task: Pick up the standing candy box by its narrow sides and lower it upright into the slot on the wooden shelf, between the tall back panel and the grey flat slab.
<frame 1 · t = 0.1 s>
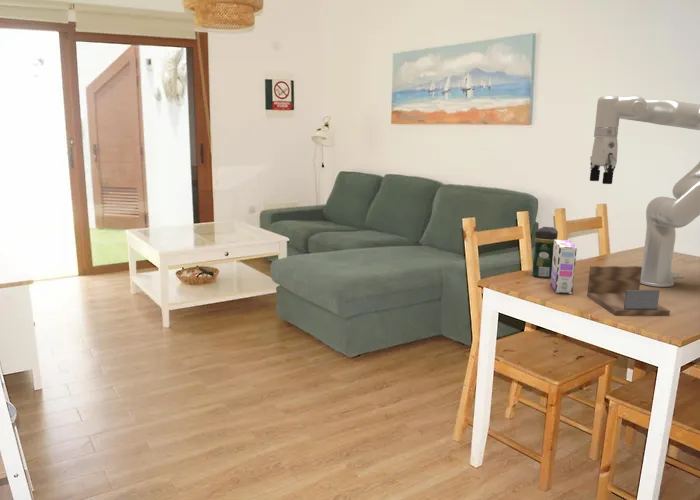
hand: (600, 182, 209), 37 cm above the table, tool pointing down, fingers open, 9 cm apart
coffee jar: (542, 275, 226), on the table
candy box: (560, 289, 209), on the table
grey flat slab: (641, 299, 181), point 4 cm above the table
wooden shelf: (626, 305, 191), on the table
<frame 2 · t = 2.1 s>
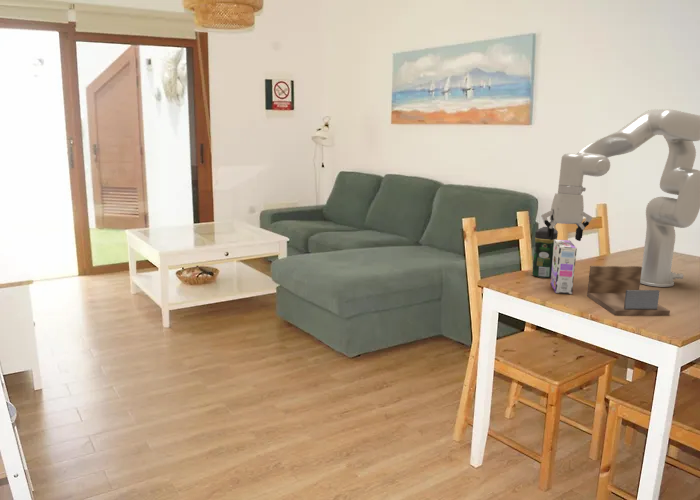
hand: (564, 239, 205), 18 cm above the table, tool pointing down, fingers open, 9 cm apart
nothing on the table moved.
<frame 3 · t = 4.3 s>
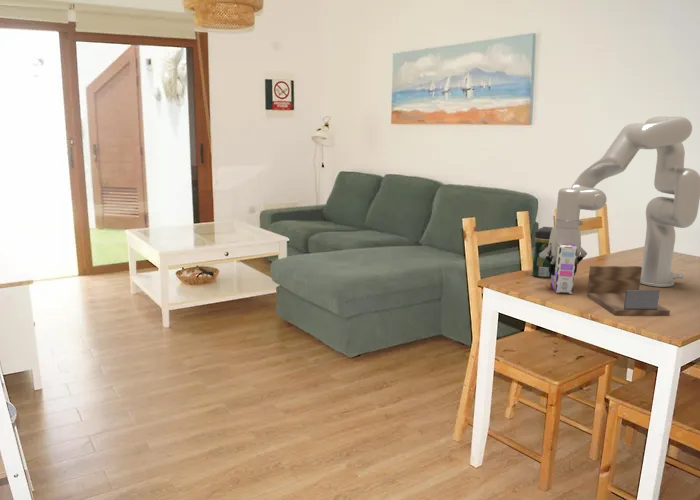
hand: (562, 274, 207), 5 cm above the table, tool pointing down, fingers closed on candy box, 6 cm apart
candy box: (560, 289, 209), on the table, touching gripper
everything else where it was.
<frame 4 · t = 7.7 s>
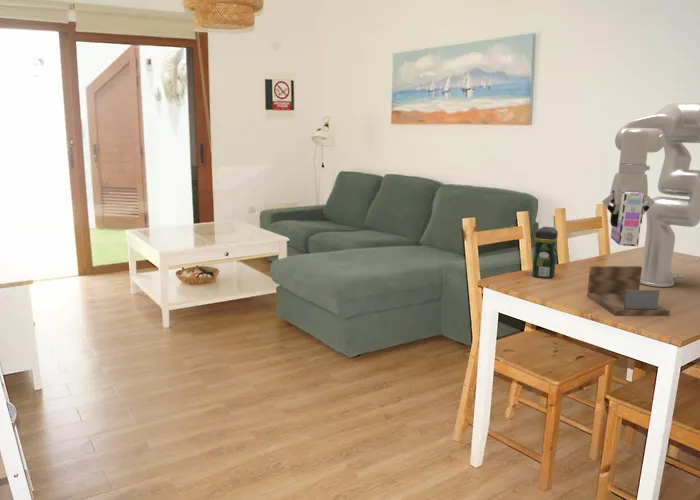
hand: (625, 225, 188), 26 cm above the table, tool pointing down, fingers closed on candy box, 6 cm apart
candy box: (623, 242, 189), point 20 cm above the table, touching gripper
everything else where it was.
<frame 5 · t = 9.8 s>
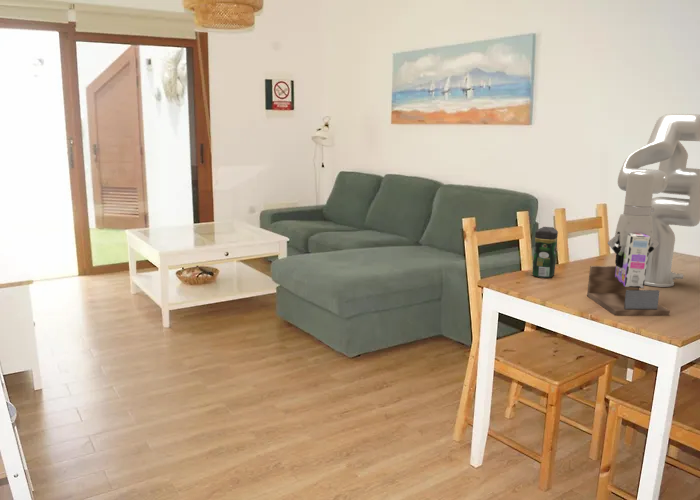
hand: (630, 266, 188), 13 cm above the table, tool pointing down, fingers closed on candy box, 6 cm apart
candy box: (628, 283, 189), point 7 cm above the table, touching gripper
everything else where it was.
when the fingers open (8 cm above the table, at t = 11.3 s): candy box stays where it is, resting on wooden shelf.
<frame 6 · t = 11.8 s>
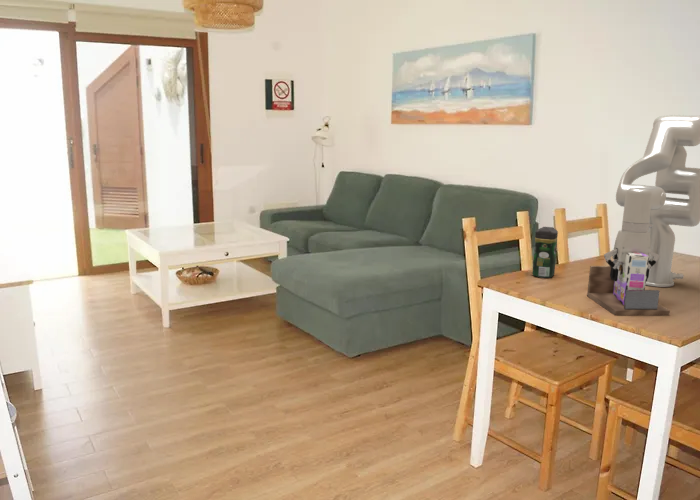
hand: (628, 280, 189), 8 cm above the table, tool pointing down, fingers open, 9 cm apart
candy box: (627, 301, 191), point 1 cm above the table, touching wooden shelf
everything else where it was.
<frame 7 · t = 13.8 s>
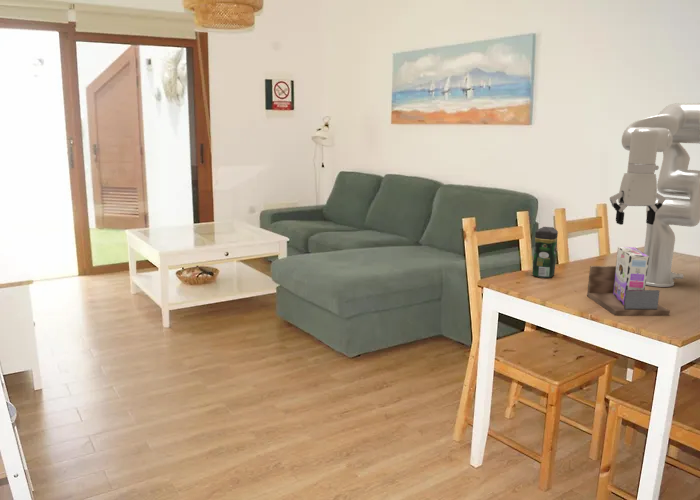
hand: (634, 223, 186), 26 cm above the table, tool pointing down, fingers open, 9 cm apart
nothing on the table moved.
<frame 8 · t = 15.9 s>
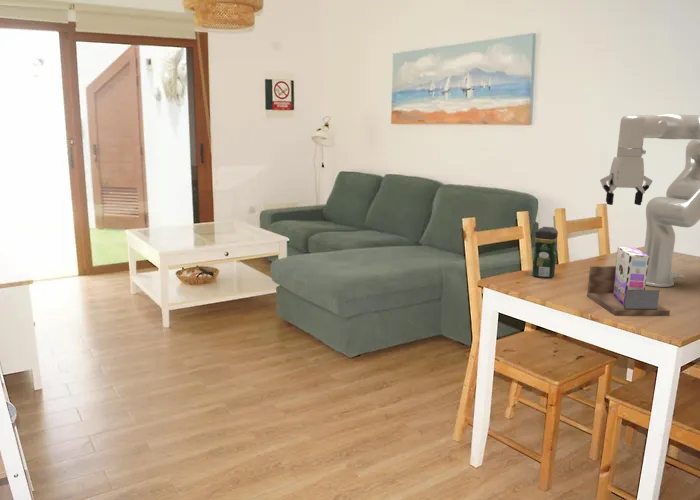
hand: (623, 204, 201), 30 cm above the table, tool pointing down, fingers open, 9 cm apart
nothing on the table moved.
at the end: candy box 0.3 cm off-centre on the wooden shelf, point 1.3 cm above the wooden shelf's base; candy box tilted 0°; the gripper is holding nothing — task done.
